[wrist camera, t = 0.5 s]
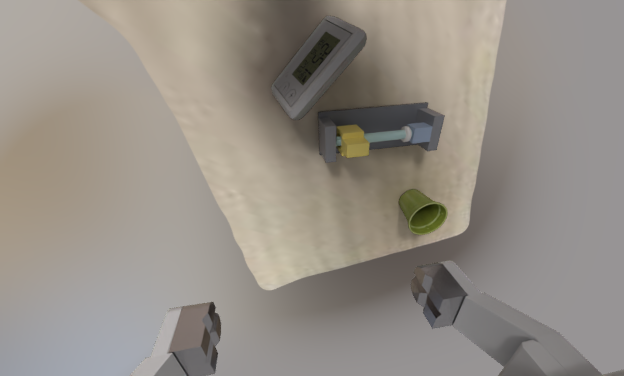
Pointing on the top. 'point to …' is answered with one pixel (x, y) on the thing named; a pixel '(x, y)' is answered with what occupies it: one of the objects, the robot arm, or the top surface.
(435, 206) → the plant pot
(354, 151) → the yellow stepped block
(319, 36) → the digital clock
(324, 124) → the grey rectangular frame
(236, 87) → the top surface
